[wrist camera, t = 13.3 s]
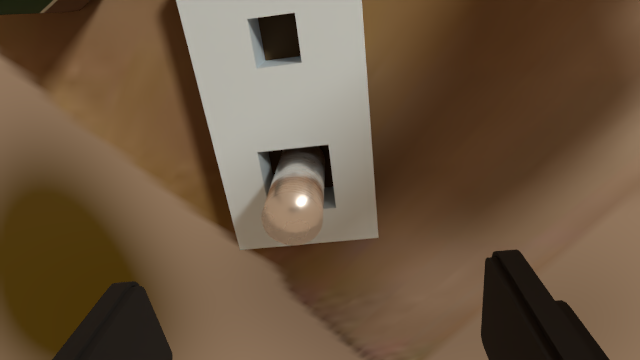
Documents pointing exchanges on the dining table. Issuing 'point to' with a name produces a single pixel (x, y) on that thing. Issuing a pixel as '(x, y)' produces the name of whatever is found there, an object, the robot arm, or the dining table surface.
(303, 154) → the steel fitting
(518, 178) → the dining table surface
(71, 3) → the beer bottle
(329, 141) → the manifold block
